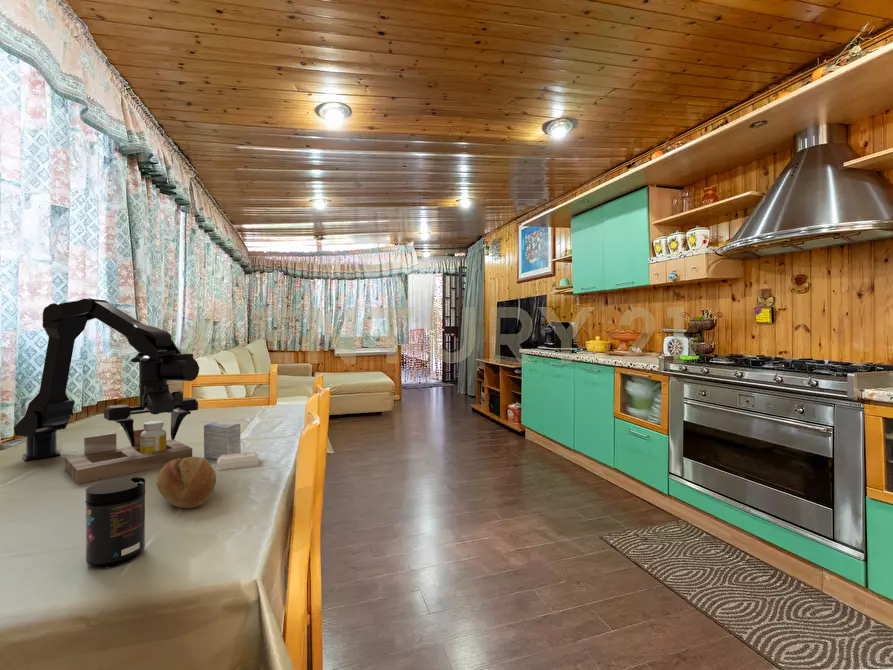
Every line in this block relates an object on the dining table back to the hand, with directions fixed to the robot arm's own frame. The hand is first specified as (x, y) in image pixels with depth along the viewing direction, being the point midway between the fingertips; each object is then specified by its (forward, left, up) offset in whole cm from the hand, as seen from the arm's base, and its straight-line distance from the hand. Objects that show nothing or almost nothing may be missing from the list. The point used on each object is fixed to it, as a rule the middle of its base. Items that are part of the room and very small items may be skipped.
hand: (153, 442), depth 105 cm
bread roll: (+34, -3, -5) cm, 34 cm away
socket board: (0, -5, -4) cm, 6 cm away
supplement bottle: (0, 0, -5) cm, 5 cm away
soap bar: (+19, +12, -5) cm, 23 cm away
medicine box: (+10, +12, -5) cm, 17 cm away
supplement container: (+49, -18, -5) cm, 52 cm away
